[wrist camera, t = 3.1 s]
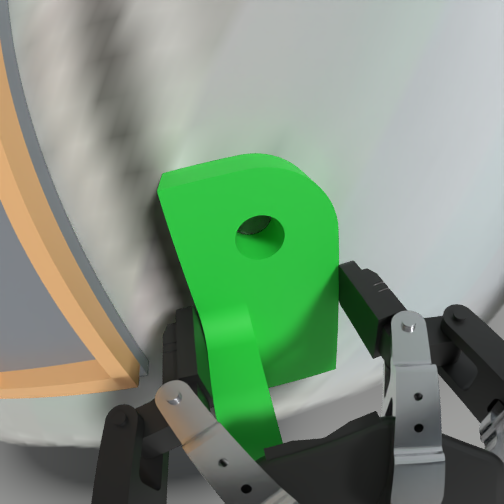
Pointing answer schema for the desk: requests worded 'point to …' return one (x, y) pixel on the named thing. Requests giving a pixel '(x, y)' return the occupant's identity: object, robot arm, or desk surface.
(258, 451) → the mechanical part
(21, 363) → the fitting jig
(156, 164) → the desk surface
